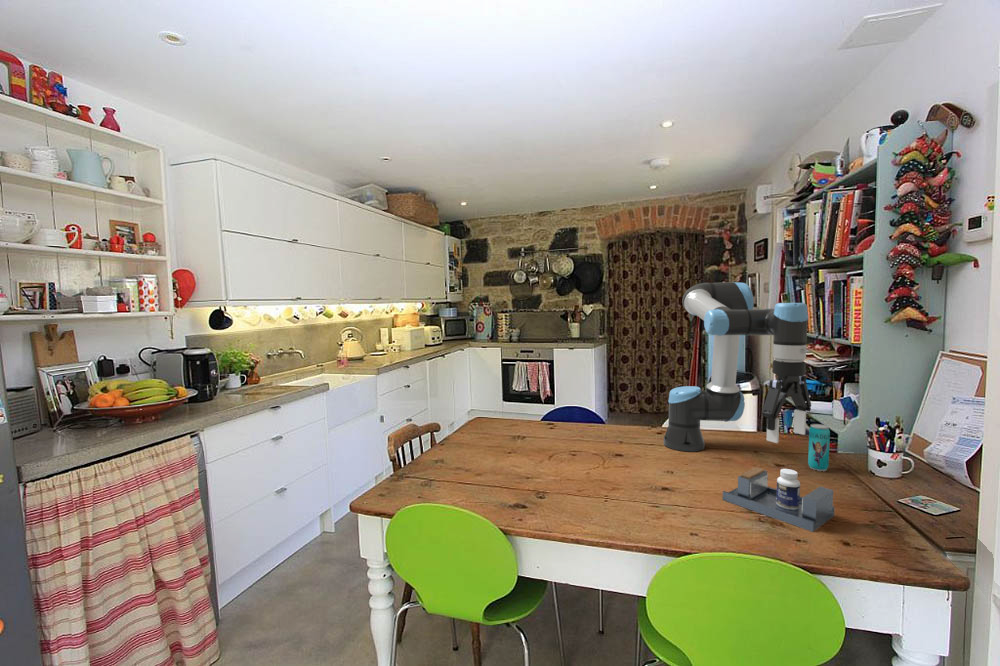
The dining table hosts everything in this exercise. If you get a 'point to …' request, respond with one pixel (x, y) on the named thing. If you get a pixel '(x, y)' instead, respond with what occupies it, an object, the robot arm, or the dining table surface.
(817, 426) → the beverage can
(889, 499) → the dining table surface
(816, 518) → the vise bed
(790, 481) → the pill bottle
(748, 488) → the sliding jaw
